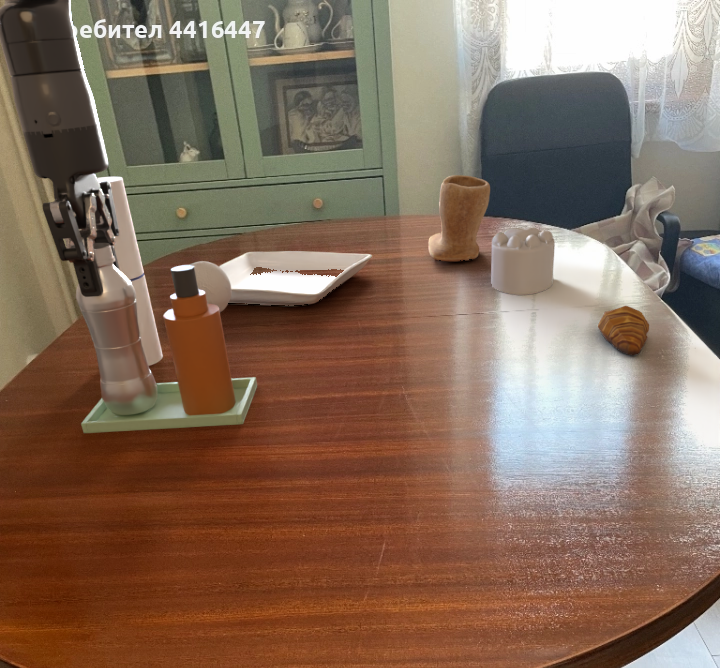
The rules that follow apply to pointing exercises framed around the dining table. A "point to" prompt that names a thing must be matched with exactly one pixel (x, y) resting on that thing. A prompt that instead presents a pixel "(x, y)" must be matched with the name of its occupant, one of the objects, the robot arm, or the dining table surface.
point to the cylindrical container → (134, 270)
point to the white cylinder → (213, 283)
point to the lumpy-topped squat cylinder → (522, 261)
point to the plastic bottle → (117, 339)
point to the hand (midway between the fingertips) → (102, 286)
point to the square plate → (288, 276)
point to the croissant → (625, 329)
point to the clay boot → (459, 218)
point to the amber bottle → (198, 347)
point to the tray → (171, 411)
